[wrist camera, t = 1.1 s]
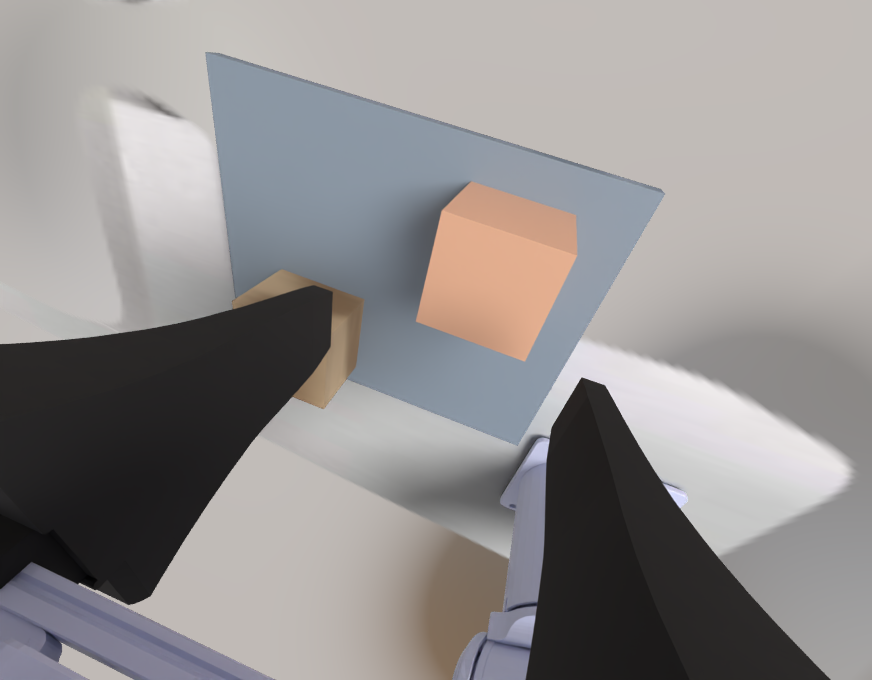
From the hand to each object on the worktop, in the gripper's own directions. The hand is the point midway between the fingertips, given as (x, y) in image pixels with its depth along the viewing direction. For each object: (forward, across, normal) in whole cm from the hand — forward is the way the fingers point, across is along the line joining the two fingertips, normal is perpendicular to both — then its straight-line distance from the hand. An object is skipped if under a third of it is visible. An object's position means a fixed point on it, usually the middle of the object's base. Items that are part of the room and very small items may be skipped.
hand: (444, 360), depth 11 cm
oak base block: (+9, +9, +8) cm, 14 cm away
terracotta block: (+9, 0, 0) cm, 9 cm away
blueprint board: (+9, +5, +4) cm, 11 cm away
